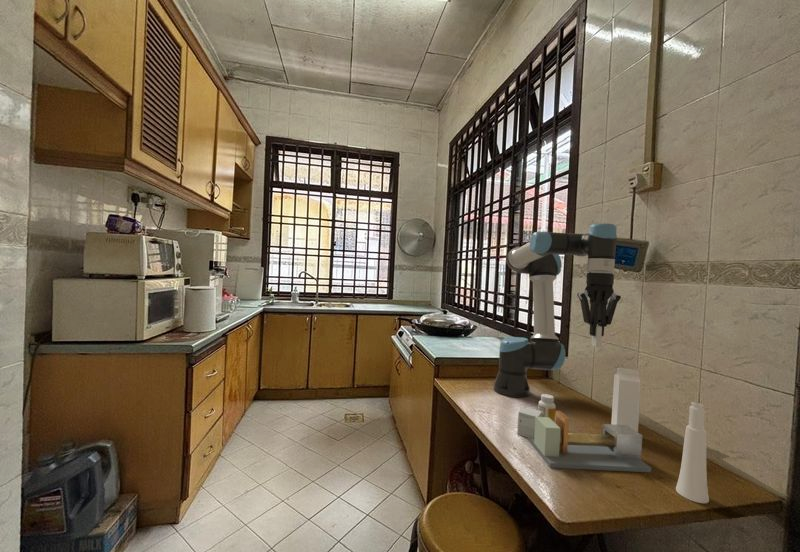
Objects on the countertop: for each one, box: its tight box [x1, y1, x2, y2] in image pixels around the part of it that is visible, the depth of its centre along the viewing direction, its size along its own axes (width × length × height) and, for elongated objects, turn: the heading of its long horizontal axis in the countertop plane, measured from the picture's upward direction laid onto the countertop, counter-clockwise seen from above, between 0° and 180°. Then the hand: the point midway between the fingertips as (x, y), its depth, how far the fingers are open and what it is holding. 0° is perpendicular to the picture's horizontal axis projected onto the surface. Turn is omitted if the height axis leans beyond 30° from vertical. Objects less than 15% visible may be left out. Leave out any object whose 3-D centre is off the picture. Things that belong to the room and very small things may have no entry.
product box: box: [516, 406, 542, 439], centre depth 108 cm, size 6×6×7 cm
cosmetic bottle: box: [675, 401, 710, 504], centre depth 80 cm, size 6×6×22 cm
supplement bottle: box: [537, 393, 557, 423], centre depth 116 cm, size 5×5×10 cm
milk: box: [610, 367, 642, 433], centre depth 111 cm, size 6×6×22 cm
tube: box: [555, 410, 614, 454], centre depth 96 cm, size 5×20×10 cm, turn 91°
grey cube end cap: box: [602, 423, 643, 460], centre depth 96 cm, size 6×7×7 cm
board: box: [528, 437, 652, 473], centre depth 96 cm, size 14×27×1 cm, turn 91°
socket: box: [534, 417, 561, 457], centre depth 96 cm, size 7×4×8 cm, turn 1°
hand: (595, 346), depth 108 cm, fingers closed
